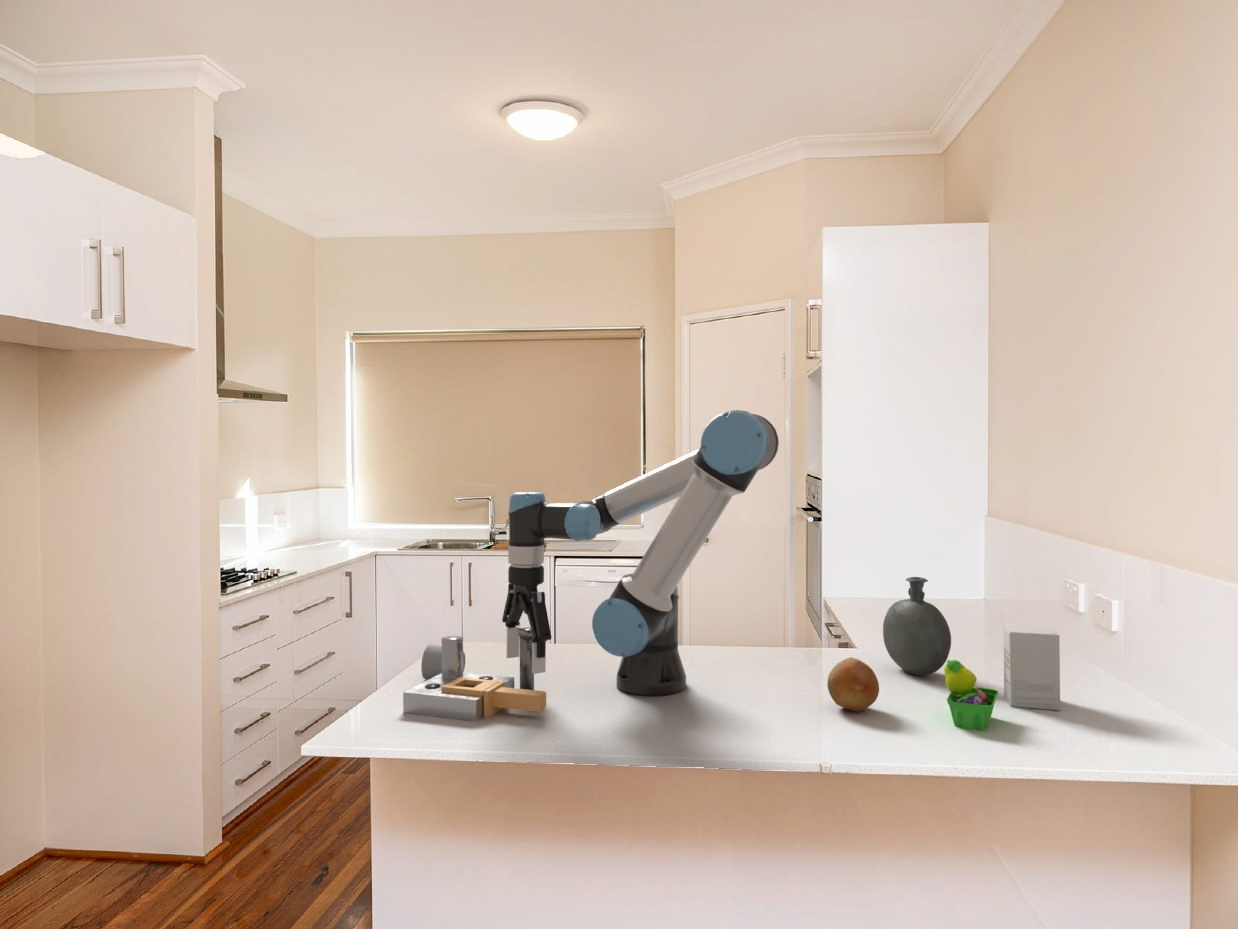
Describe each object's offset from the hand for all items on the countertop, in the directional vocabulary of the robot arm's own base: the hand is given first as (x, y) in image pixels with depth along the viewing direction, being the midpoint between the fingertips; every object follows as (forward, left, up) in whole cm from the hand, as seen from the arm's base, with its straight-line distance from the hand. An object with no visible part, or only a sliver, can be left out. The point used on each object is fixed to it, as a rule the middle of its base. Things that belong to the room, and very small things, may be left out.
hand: (525, 664), depth 164 cm
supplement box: (-100, -25, -6) cm, 104 cm away
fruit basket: (-87, -9, -6) cm, 88 cm away
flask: (-79, -40, -6) cm, 89 cm away
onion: (-66, -9, -6) cm, 67 cm away
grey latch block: (+9, +12, -6) cm, 16 cm away
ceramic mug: (+22, -4, -6) cm, 23 cm away
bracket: (0, +14, -6) cm, 15 cm away
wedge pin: (0, 0, -6) cm, 6 cm away
